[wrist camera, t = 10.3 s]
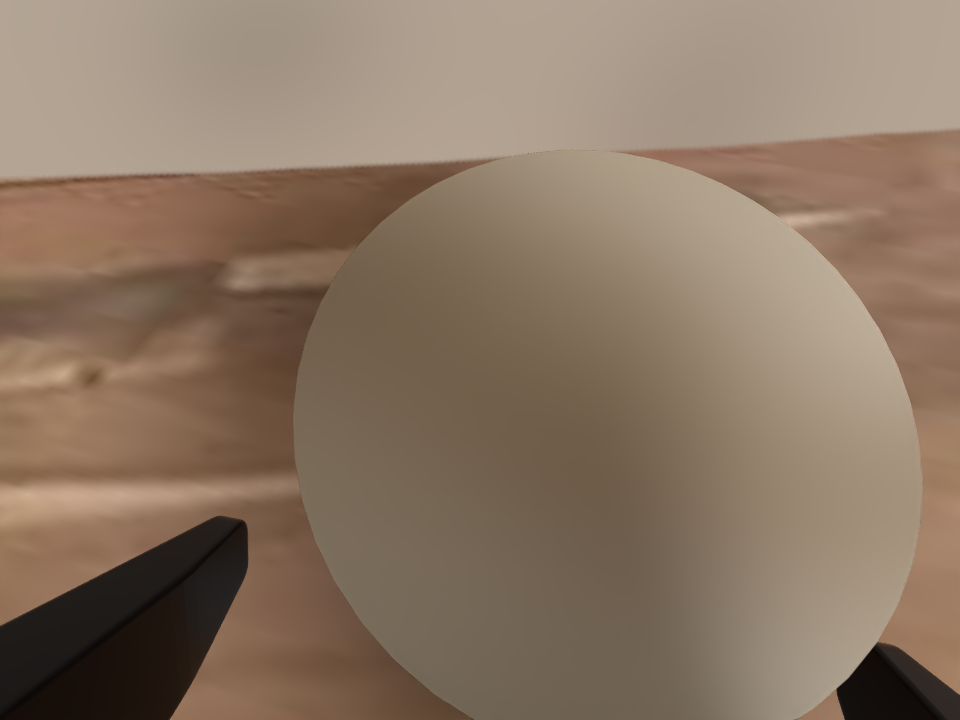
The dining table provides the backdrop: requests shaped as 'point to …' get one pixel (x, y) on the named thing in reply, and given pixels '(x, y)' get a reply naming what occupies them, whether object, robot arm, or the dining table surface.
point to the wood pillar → (606, 447)
